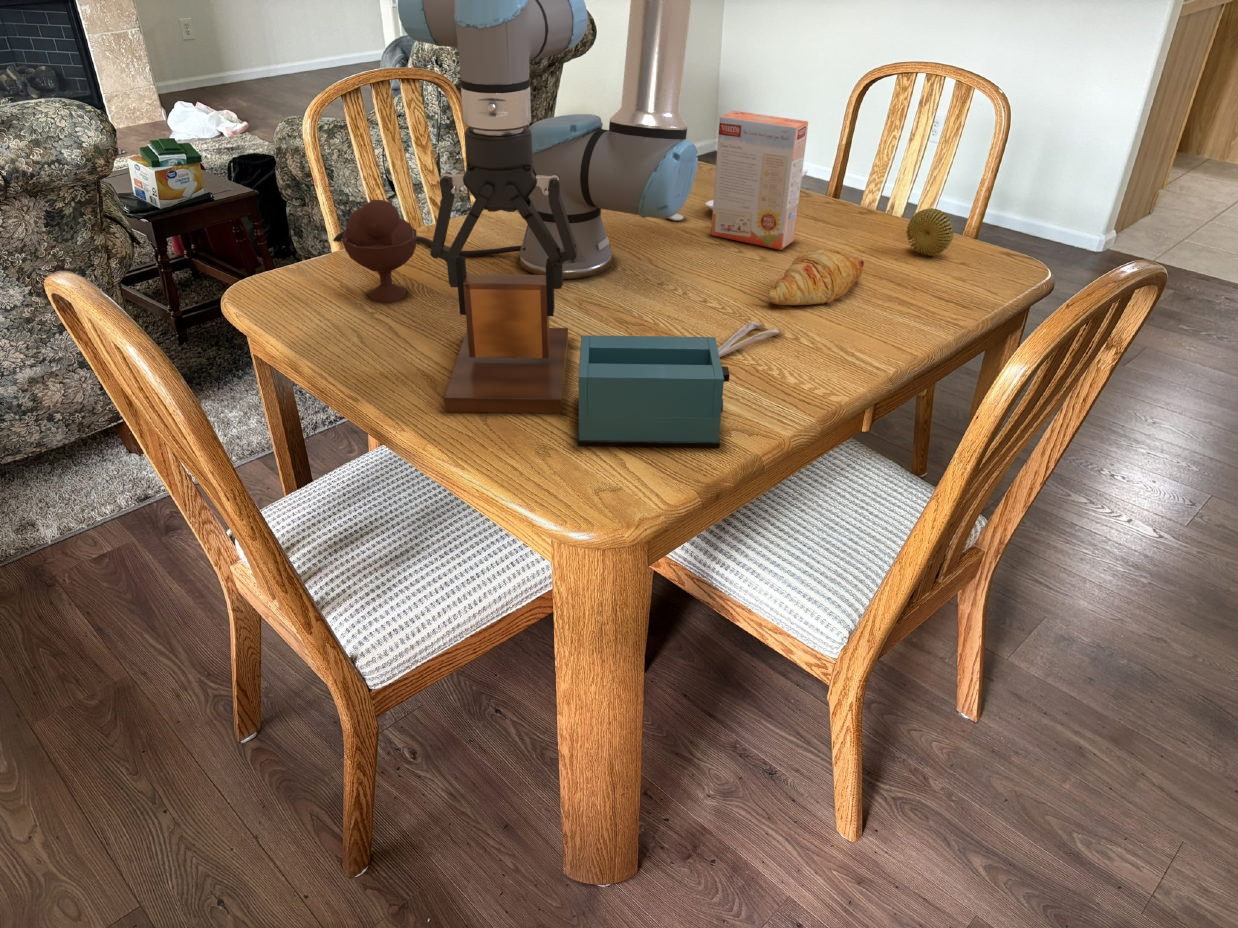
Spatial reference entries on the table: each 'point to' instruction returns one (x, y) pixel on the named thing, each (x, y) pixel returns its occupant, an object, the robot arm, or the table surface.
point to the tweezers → (752, 325)
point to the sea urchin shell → (930, 232)
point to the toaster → (650, 391)
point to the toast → (507, 316)
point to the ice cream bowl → (380, 245)
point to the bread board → (509, 381)
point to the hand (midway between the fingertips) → (507, 311)
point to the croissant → (816, 278)
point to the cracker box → (758, 178)
